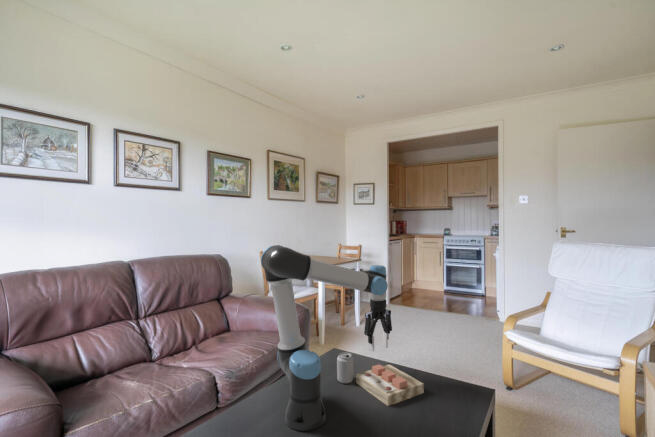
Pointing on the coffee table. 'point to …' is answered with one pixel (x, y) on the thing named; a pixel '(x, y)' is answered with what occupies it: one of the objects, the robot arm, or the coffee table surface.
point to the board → (389, 386)
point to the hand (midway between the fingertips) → (378, 348)
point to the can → (345, 368)
